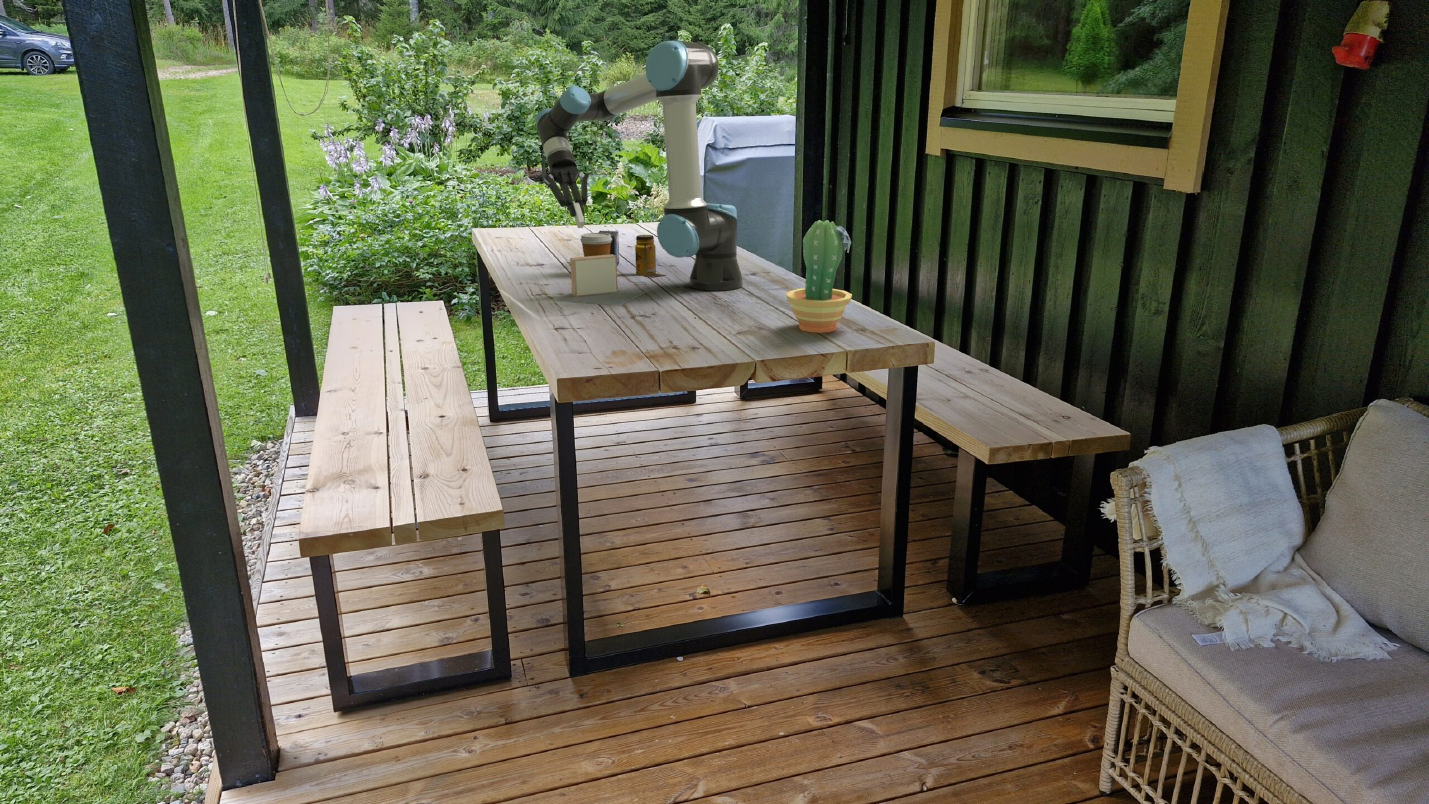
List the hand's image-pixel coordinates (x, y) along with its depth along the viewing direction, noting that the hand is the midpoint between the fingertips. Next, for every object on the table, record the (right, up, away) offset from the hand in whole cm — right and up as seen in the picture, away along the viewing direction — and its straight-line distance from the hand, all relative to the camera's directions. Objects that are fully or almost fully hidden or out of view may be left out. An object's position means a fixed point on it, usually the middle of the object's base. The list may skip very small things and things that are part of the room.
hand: (581, 224), depth 252 cm
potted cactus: (+61, -31, -35) cm, 77 cm away
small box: (+3, -6, +40) cm, 40 cm away
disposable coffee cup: (+1, -10, +26) cm, 28 cm away
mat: (+6, -21, -5) cm, 22 cm away
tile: (+4, -19, -2) cm, 20 cm away
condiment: (+17, -11, +25) cm, 32 cm away
